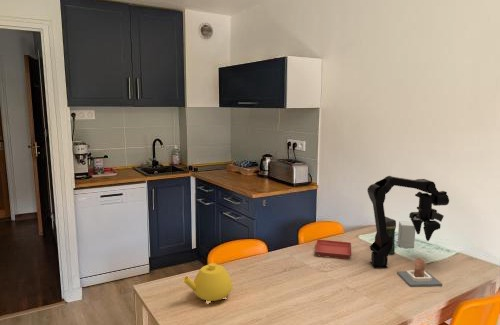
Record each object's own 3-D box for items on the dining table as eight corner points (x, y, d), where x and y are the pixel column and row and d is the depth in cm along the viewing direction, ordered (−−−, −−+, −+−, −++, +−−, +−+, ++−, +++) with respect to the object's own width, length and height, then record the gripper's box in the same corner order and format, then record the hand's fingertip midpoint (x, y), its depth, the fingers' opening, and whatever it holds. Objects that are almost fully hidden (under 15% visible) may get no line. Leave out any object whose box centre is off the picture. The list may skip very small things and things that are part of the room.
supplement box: (414, 248, 205) (415, 225, 203) (399, 247, 206) (401, 225, 204) (411, 243, 212) (412, 221, 210) (397, 242, 213) (398, 220, 211)
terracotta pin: (416, 279, 166) (417, 262, 165) (412, 275, 170) (413, 258, 169) (425, 279, 166) (426, 261, 165) (421, 275, 170) (422, 258, 169)
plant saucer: (350, 247, 206) (351, 242, 206) (351, 261, 189) (351, 254, 189) (316, 245, 211) (317, 239, 210) (314, 257, 193) (314, 251, 193)
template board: (410, 286, 161) (410, 281, 161) (396, 273, 174) (397, 268, 174) (442, 286, 162) (442, 280, 162) (426, 272, 175) (427, 267, 175)
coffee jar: (397, 253, 197) (399, 219, 194) (385, 256, 194) (387, 220, 191) (384, 247, 206) (386, 214, 203) (372, 249, 203) (374, 215, 200)
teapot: (190, 313, 141) (189, 278, 139) (177, 295, 154) (176, 263, 152) (238, 300, 150) (238, 267, 148) (222, 284, 164) (222, 253, 162)
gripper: (453, 211, 173) (450, 244, 175) (431, 200, 191) (429, 230, 194) (429, 211, 172) (426, 244, 175) (409, 201, 191) (407, 231, 193)
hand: (422, 237), depth 184 cm, fingers open, 9 cm apart
